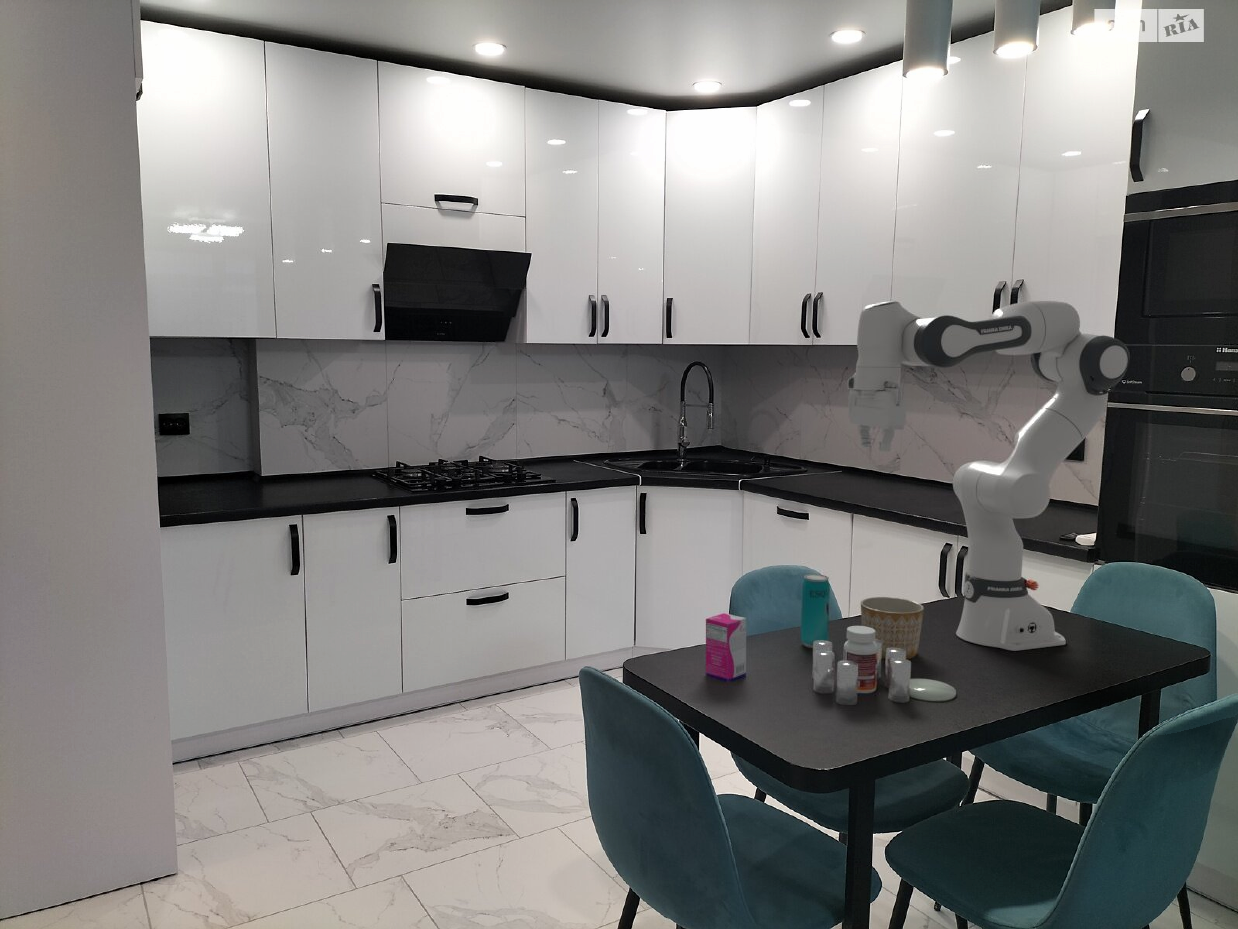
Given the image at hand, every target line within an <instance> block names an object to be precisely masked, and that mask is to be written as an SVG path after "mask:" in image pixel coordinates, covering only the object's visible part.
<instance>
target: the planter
mask: <svg viewBox="0 0 1238 929" xmlns="http://www.w3.org/2000/svg"><path fill="white" fill-rule="evenodd" d="M924 607H925V606H923V605H922V603H919V602H917V601H913V600H911V599H905V598H902V597H901V598H900V597H891V596H875V597H868V598H867V597H866V598H865V599H864V598H863V599H862V600H861V601H860V618H861V619H860V620H861V626H865V627H870V628H873V629H874V630H875V639H878V640H881V641H882V654H881V660H886V649H887V648H901V649H904V650H906V660H911V659H913V658H914V657H916V656H917V654H918V651H919V644H920V638H921V637H920V636H921V630H922V623H923V617H924V616H923V615H924V612H925V611H924V610H925V608H924Z"/></svg>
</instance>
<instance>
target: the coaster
mask: <svg viewBox="0 0 1238 929" xmlns="http://www.w3.org/2000/svg"><path fill="white" fill-rule="evenodd" d="M956 695H957V690H956V689H955V688H954V687H953V686H951V685H950V684H948V683H946V682H943V681H939V680H935V679H928V678H910V697H909V698H913V699H917V700H921V701H927V702H946V701H951V700H952V699H955V697H956Z"/></svg>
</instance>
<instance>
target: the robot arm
mask: <svg viewBox="0 0 1238 929" xmlns="http://www.w3.org/2000/svg"><path fill="white" fill-rule="evenodd" d="M1080 327H1081V319H1080V315H1079V313H1078V311H1077V309H1076V308H1075V307H1074V306H1073V305H1071V304H1069V303H1068V302H1063V301H1058V300H1057V301H1055V300H1053V301H1052V300H1032V301H1023V302H1018V303H1012V304H1009V305H1005V306H1002V307H1000V308H997V309H995V310H994V312H993V313H992V314H991V316H990V318H989V319H983V320H982V319H981V320H976V321H968V320H965V319H963V318H960V317H957V316H954V315H946V314H945V315H941V316H935V317H926V318H922V317H920V316H918V315H916V314H913V313H911V312H909V310H907V309H905V307H903V306H902V305H901V303H900V302H899V301H895V300H891V301H883V302H877V303H876V302H875V303H871V304H868V305H866V306H865V307H864V308H862V310H861V312H860V316H859V319H858V328H857V338H856V347H857V351H858V352H857V353H858V356H857V362H856V365H855V373H854V374H853V375H852V376H850V377H849V378H848V379H847V383H846V384H847V389H848V390H849V391H848V392H849V393H848V419H849V421H850V423H851V424H853V425H857V427H858V428H857V432H858V435H859V438H860V439H859V440H860V443H859V444H860V447H863V448H869V447H870V448H871V446H872V438H871V436H870V430H871V428H877V429H881V434H882V436H881V440H880V441H879V444H878V445H879V446H878V449H879V451H881V452H891V448H892V447H891V446H892V441H893V438H894V437H895V431H897V430H898V431H901V430H904V429H905V426H906V420H907V419H906V416H907V415H906V413H907V412H906V411H907V410H906V409H907V408H906V398H905V394H904V392H902V389H901V376H902V374H901V373H902V371H901V370H902V364H903V365H906V366H912V367H915V366H917V367H937V368H944V369H945V368H951V367H954V366H957V365H958V364H960V363H961V362H963V361H965V360H966V359H967V358H970V357H971V356H973V355H975V354H980V353H988V352H996V353H997V354H999V355H1005V356H1008V355H1009V356H1022V355H1023V356H1024V355H1025V356H1026V355H1030V362H1031V363H1030V364H1031V368H1032V370H1033V371H1034V373H1035V374H1036V375H1037V376H1038V377H1040V378H1042V379H1043V380H1046V381H1049V382H1053V383H1054V382H1055V383H1056V382H1057V383H1058V384H1057V388H1056V390H1055V392H1054V394H1053V396H1052V397H1051V398H1050V399H1049V400H1047V401H1046V402H1045V403H1044V404H1043V405H1041V407H1039V409H1038V410H1037V411H1036V412H1035V413H1034V414H1033V415H1032V416H1031V417H1030V418H1029V419H1028V420H1027V421H1026V423H1025V424H1023V426H1022V427H1020V429H1018V431H1017V432H1016V433H1015V435H1014V440H1013V441H1014V443H1013V444H1014V445H1015V446H1014V447H1013V450H1012V452H1011V453H1010V456H1009V457H1008V458H1007V459H1006V460H1005V461H1003V462H996V461H990V460H974V461H971V462H967V463H964V464H963V465H961V466H960V467H959V468H958V469H957V470H956V472H955V474H954V475H953V478H952V487H953V492H954V494H955V495H956V497H957V498H958V500H959V502H960V504H961V507H962V511H963V512H962V513H963V515H964V519H965V521H964V522H965V525H966V530H967V539H968V540H967V541H968V549H967V552H968V553H967V572H965V573H964V574H965V575H964V584H963V585H964V586H963V587H964V588H963V593H964V594H963V595H964V602H963V609H962V613H961V618H960V621H959V625H958V627H957V630H956V632H955V634H956V636H957V637H958V638H959V639H962V640H963V641H966V642H969V643H973V644H977V645H980V646H985V647H986V646H987V647H991V648H1000V649H1003V650H1007V651H1013V652H1016V651H1025V650H1032V649H1041V648H1047V647H1048V648H1050V647H1057V646H1064V645H1066V639H1065V637H1064V636H1063V635H1062V634H1060V633H1059V632H1057V631H1055V628H1056V627H1055V620H1054V616H1053V614H1052V613H1051V612H1050V611H1049V610H1048V609H1047V608H1046V607H1044V606H1043V605H1042V603H1040V602H1038V601H1037V600H1036V599H1035V598H1034V597H1033V596H1031V595H1030V594H1029V590H1028V589H1030V590H1031V591H1037V590H1038V588H1039V586H1040V585H1039V583H1038V582H1037V581H1035V580H1033V579H1028V580H1027V579H1026V578H1025V577H1023V576H1022V575H1023V574H1022V572H1023V556H1024V554H1023V553H1024V543H1023V539H1022V538H1021V536H1020V535H1019V533H1018V531H1017V530H1016V526H1015V524H1014V520H1013V519H1029V518H1035V517H1038V516H1039V515H1041V514H1042V513H1043V512H1044V511H1045V510H1046V508H1047V507H1048V505H1049V502H1050V501H1051V500H1050V499H1051V488H1050V483H1051V481H1052V479H1053V477H1054V474H1055V473H1056V471H1057V470H1058V468H1059V467H1060V465H1061V464H1062V463H1063V462H1064V461H1065V460H1066V459H1067V458H1068V456H1069V455H1070V454H1071V453H1072V452H1074V450H1075V449H1076V448H1077V447H1078V446H1079V445H1080V444H1081V443H1082V442H1083V441H1084V439H1085V438H1086V437H1087V436H1088V435H1089V434H1090V433H1091V432H1092V430H1093V429H1094V427H1095V426H1096V425H1097V423H1098V421H1099V420H1100V419H1101V418H1102V416H1103V415H1104V412H1105V410H1106V405H1107V404H1106V400H1105V397H1104V395H1106V394H1109V393H1110V392H1112V391H1113V390H1115V389H1116V386H1117V384H1118V383H1120V382H1121V381H1122V379H1123V378H1124V376H1125V374H1126V372H1127V371H1128V368H1129V364H1130V359H1131V356H1130V352H1129V349H1128V347H1127V345H1126V344H1125V343H1124V342H1122V341H1121V340H1119V339H1117V338H1115V337H1112V336H1108V335H1097V334H1093V333H1092V334H1090V333H1082V332H1081V331H1080Z"/></svg>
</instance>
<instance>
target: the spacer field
mask: <svg viewBox="0 0 1238 929" xmlns="http://www.w3.org/2000/svg"><path fill="white" fill-rule="evenodd" d="M874 643H875V644H876V645H877V647H878V660H877V680H880V678H881V677H882V676H881V673H882V672H881V671H882V659H881V654H882V641H881V640H878V639H875V641H874ZM835 656H836V654H835V652H833V643H832V642H831V641H828V640H827V641H825V640H817V641H814V642H813V648H812V672H811V675H812V676H811V677H812V680H813V691H814V692H816V693H819V694H832V693H833V692H834V685H835V684H834V683H835V679H834V678H835ZM836 665H837V666H836V668H837V670H836V693H835V694H836V697H835V702H836V703H837V704H839V705H843V706H854V705H857V703H858V693H857V685H858V663H856V662H853V661H847V660H843V659H842V660H839V661H837V664H836ZM884 665H885V666H884V667H885V669H884V687H885V688H886V689H888V699H889V700H890V701H892V702H895V703H901V704H902V703H908V702H909V701H910V698H911V697H910V679H911V676H912V674H911V672H912V662H911V660H910V659H907V660H906V650H904V649H901V648H887V649H886V659H885V664H884Z"/></svg>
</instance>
